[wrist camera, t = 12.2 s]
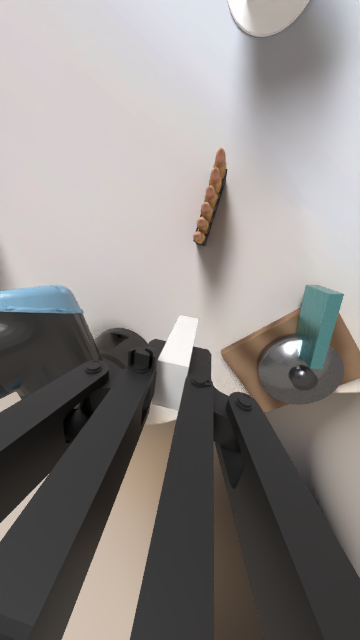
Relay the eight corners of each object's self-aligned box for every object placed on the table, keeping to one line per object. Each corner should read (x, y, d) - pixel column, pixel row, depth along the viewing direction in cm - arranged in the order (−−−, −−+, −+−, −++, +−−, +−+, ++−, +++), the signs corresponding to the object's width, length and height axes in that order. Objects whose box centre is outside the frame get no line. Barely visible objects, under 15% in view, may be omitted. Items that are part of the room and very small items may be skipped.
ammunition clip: (205, 246, 35) (200, 244, 24) (195, 243, 35) (187, 240, 24) (226, 179, 31) (232, 140, 20) (215, 176, 31) (215, 136, 20)
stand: (262, 406, 45) (264, 414, 43) (221, 350, 42) (221, 355, 40) (364, 367, 38) (372, 373, 36) (324, 295, 35) (331, 297, 33)
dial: (324, 396, 39) (346, 426, 33) (253, 390, 41) (260, 416, 35) (358, 285, 31) (396, 294, 24) (268, 284, 33) (281, 293, 27)
